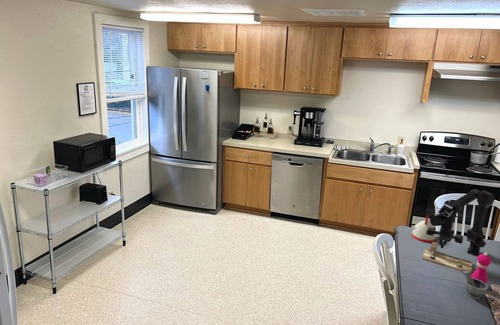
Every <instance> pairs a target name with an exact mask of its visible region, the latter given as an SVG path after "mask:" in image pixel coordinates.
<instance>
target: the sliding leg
mask: <svg viewBox="0 0 500 325" xmlns="http://www.w3.org/2000/svg"><path fill="white" fill-rule="evenodd" d="M438 245H439V244H438V242H435V241H434V242H431V244H430V248H429V249H430V253H431V256H430V257H432V255H433V254H435V253H436V251H438V250H437V249H438Z"/></svg>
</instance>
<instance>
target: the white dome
mask: <svg viewBox="0 0 500 325" xmlns="http://www.w3.org/2000/svg"><path fill="white" fill-rule="evenodd" d="M429 227H431V228H434V227H435V226H433V225H431V223H430V220H429V215H426V217H425V220H421V221H419V222H418V223H417V224H416V223H415V224H414V226H413V229H412V232H411V237H412V238H413V239H415V240H416V241H419V242H422V243H432V242H434V243H435V240H436V236H437V234H434V235H432V236H431V235H427V234H426V233H427V229H428V228H429ZM434 229H435V228H434Z"/></svg>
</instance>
